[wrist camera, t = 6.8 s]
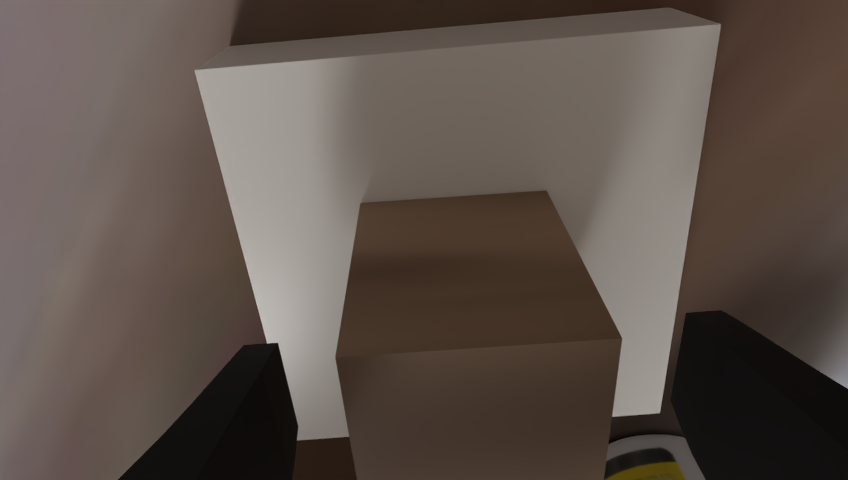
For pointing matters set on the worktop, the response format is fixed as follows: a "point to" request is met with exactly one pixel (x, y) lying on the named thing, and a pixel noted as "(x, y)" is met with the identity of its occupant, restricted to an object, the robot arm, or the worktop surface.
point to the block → (474, 344)
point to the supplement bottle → (651, 459)
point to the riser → (465, 164)
